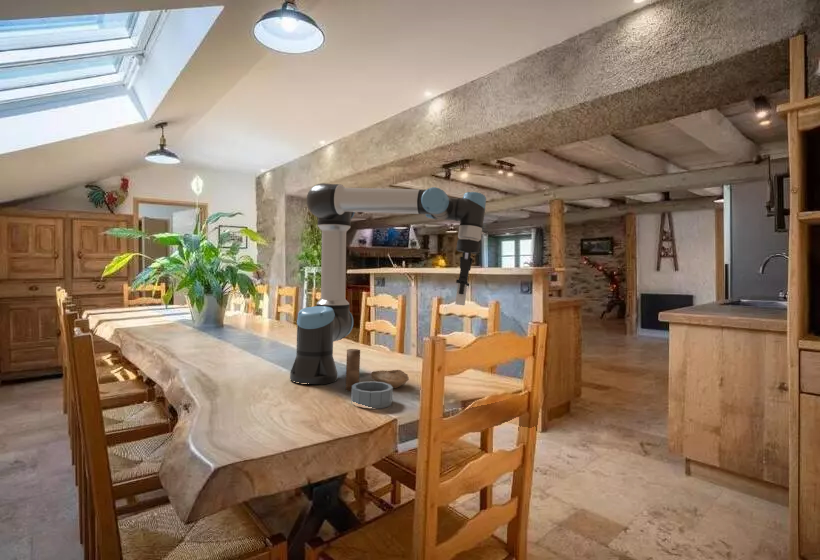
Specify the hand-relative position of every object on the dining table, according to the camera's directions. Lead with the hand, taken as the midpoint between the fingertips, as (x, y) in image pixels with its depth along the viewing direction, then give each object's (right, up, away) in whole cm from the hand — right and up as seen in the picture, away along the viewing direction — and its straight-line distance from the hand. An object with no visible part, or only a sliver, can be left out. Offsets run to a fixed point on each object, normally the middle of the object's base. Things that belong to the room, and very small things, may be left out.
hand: (460, 304), depth 141 cm
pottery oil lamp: (-23, -26, -3) cm, 35 cm away
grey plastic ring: (-27, -26, -22) cm, 43 cm away
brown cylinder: (-34, -25, -10) cm, 43 cm away
